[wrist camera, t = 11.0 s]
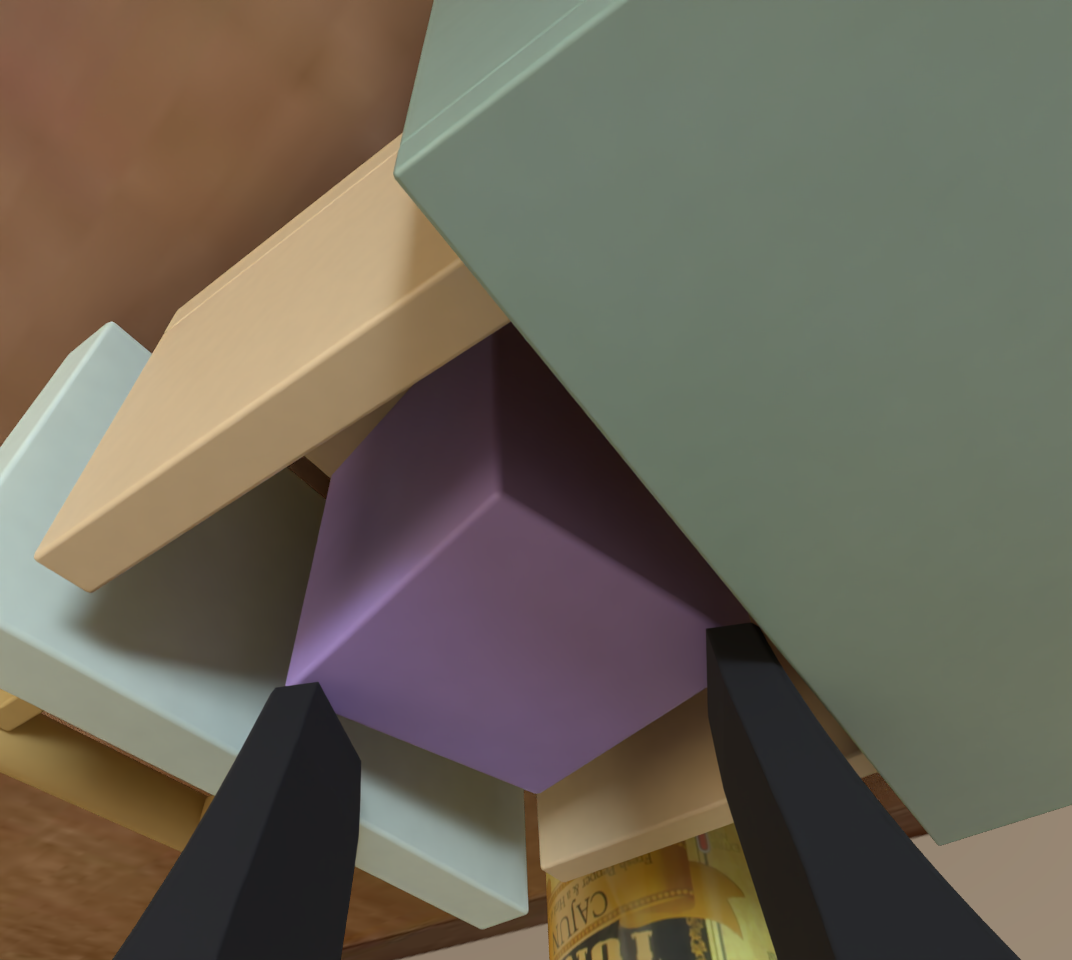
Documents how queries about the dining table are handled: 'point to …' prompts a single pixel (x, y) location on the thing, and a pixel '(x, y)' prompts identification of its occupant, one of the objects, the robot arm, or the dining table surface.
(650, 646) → the block
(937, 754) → the cabinet
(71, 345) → the dining table surface
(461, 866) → the drawer
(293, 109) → the dining table surface
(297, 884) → the robot arm
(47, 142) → the dining table surface
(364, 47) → the dining table surface
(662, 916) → the sauce bottle
